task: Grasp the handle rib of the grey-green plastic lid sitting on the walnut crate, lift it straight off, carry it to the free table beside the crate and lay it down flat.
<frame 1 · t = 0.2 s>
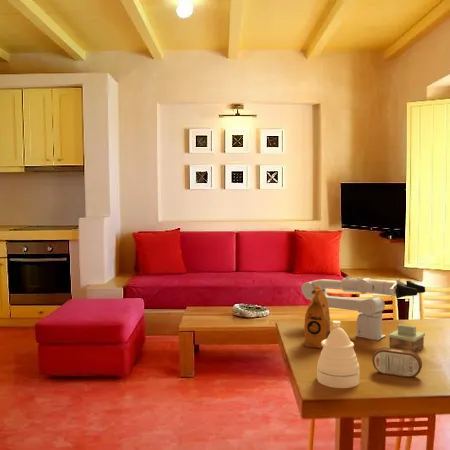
hand: (421, 291, 190), 21 cm above the table, tool horizontal, fingers open, 7 cm apart
honey pot: (338, 380, 156), on the table
lid: (406, 336, 189), point 4 cm above the table, touching crate
crate: (406, 347, 190), on the table
coffee package: (317, 344, 195), on the table
tin: (396, 375, 160), on the table
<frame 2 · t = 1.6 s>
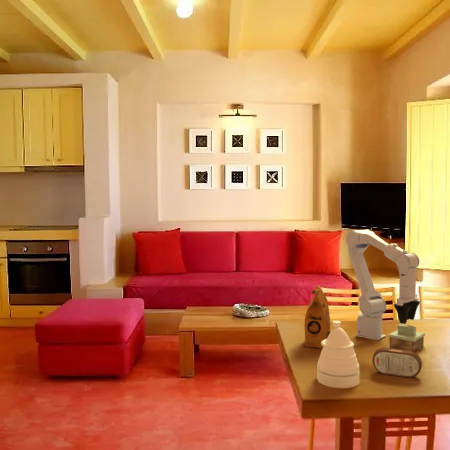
hand: (406, 321, 189), 10 cm above the table, tool pointing down, fingers open, 7 cm apart
nothing on the table moved.
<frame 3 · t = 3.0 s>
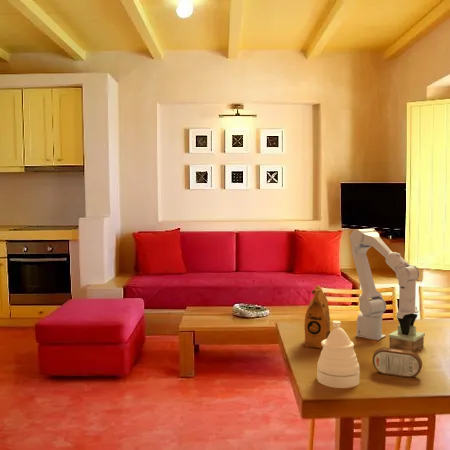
hand: (406, 333, 189), 5 cm above the table, tool pointing down, fingers closed on lid, 2 cm apart
lid: (406, 336, 189), point 4 cm above the table, touching crate, gripper
everything else where it was.
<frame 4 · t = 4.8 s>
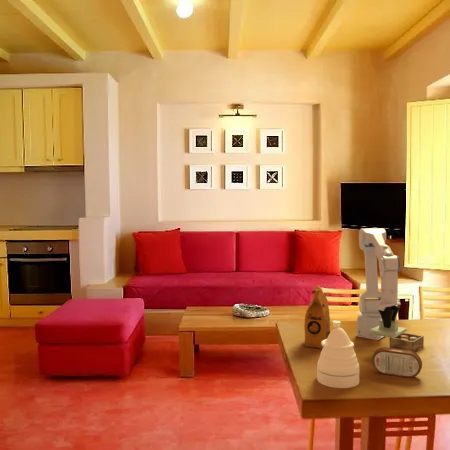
hand: (388, 326, 181), 10 cm above the table, tool pointing down, fingers closed on lid, 2 cm apart
lid: (388, 331, 182), point 8 cm above the table, touching gripper
everything else where it was.
when the fingers open (3 cm above the table, at t = 6.8 s): lid stays where it is, on the table.
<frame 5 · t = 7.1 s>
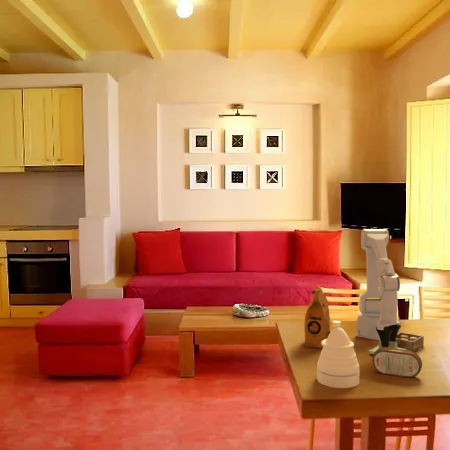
hand: (388, 345, 182), 3 cm above the table, tool pointing down, fingers open, 5 cm apart
lid: (387, 352, 182), on the table
everything else where it was.
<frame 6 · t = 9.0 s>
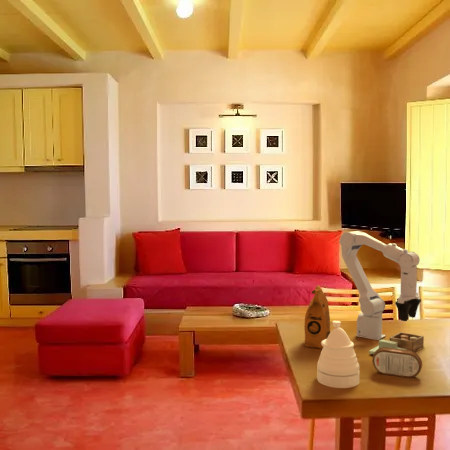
hand: (408, 318, 193), 10 cm above the table, tool pointing down, fingers open, 7 cm apart
nothing on the table moved.
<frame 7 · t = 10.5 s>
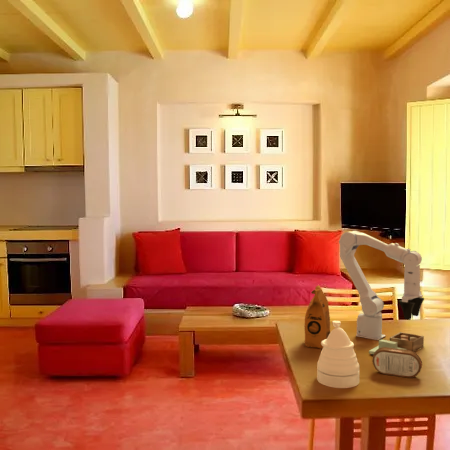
hand: (411, 317, 195), 10 cm above the table, tool pointing down, fingers open, 7 cm apart
nothing on the table moved.
at the end: lid inside the target area (0.3 cm from its centre), point 0.5 cm above the table; lid tilted 0°; the gripper is holding nothing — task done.
